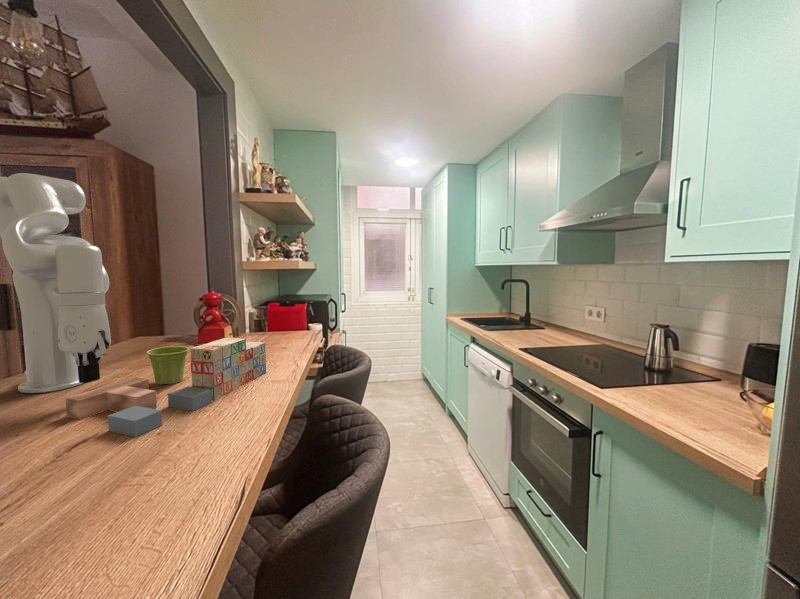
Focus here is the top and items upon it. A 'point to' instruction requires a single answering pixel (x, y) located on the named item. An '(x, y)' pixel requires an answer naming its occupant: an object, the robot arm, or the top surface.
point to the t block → (112, 398)
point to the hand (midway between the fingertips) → (89, 381)
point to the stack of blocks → (226, 364)
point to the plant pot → (168, 363)
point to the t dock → (156, 411)
